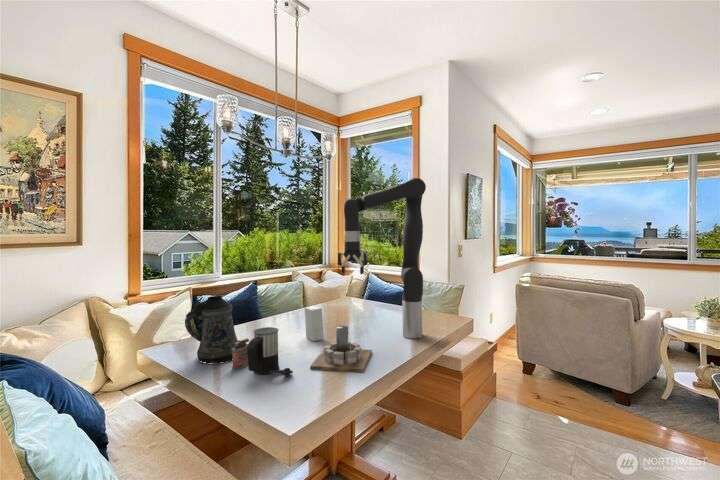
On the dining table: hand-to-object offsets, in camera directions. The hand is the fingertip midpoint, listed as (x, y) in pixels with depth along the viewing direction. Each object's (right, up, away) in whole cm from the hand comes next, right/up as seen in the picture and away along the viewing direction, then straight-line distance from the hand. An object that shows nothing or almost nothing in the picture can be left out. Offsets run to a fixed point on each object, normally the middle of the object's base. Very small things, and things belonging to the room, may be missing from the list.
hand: (352, 274), depth 164 cm
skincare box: (-18, -31, -2) cm, 36 cm away
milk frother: (-28, -32, -40) cm, 59 cm away
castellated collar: (-3, -31, -30) cm, 43 cm away
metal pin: (-3, -30, -30) cm, 42 cm away
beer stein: (-55, -32, -25) cm, 69 cm away
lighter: (-42, -32, -34) cm, 63 cm away
